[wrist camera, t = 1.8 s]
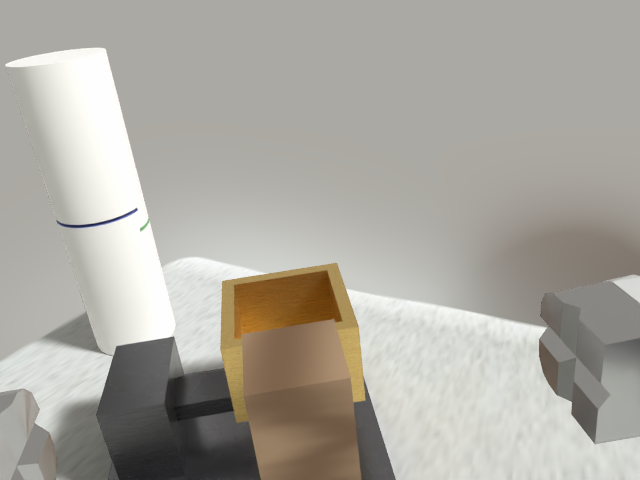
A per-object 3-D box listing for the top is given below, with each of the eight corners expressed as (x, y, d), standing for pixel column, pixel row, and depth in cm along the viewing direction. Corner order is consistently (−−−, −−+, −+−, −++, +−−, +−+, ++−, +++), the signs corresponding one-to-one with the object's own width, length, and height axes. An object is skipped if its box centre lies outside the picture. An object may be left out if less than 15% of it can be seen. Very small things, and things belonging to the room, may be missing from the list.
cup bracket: (99, 549, 35) (44, 413, 31) (133, 393, 48) (98, 280, 43) (397, 493, 37) (387, 354, 32) (354, 356, 49) (343, 242, 45)
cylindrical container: (80, 344, 55) (-15, 67, 44) (138, 305, 60) (65, 48, 49) (135, 364, 51) (46, 67, 40) (191, 320, 57) (125, 47, 46)
